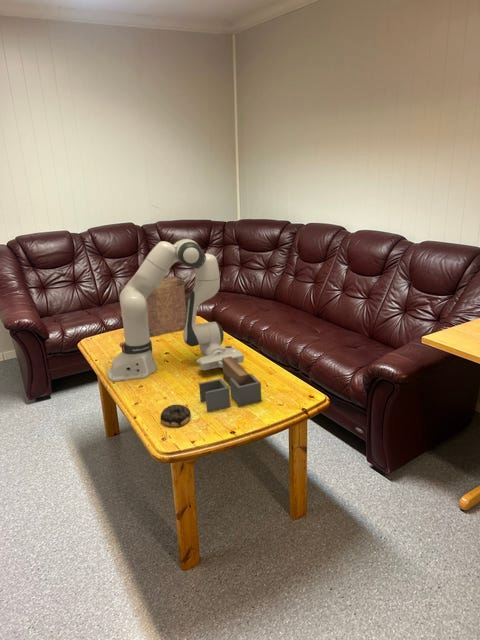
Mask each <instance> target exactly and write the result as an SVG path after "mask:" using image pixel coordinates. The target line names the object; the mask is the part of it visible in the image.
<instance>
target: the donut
mask: <svg viewBox="0 0 480 640" xmlns="http://www.w3.org/2000/svg"><path fill="white" fill-rule="evenodd" d="M191 415H192V414H191V410H190V409H189V407H187V406H184V405H182V404H171V405H169V406H167V407H165V408H164V409H163V410H162V412H161V414H160V422H161V424H163V425H165V426H167V427H175V428H176V427H181V426H185V424H187V423H188V422H189V421H190V419H191Z"/></svg>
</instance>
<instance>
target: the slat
mask: <svg viewBox="0 0 480 640" xmlns="http://www.w3.org/2000/svg"><path fill="white" fill-rule="evenodd" d="M222 361H223V368H222V373H223V381H224V382H225V383H226V385H227V386H228V387H230V378H233V379H234V380H235V381H236V382H237V383H238V384H239V385H240V386H242V385H247V384H249V374H250V373H249V372H248V371H247V370H246V369H244V367H243V366H241V364H240V363H237V362H236V361H235V360H234V359H233V358H232V357H226V358H222Z"/></svg>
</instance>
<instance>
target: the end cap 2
mask: <svg viewBox="0 0 480 640" xmlns="http://www.w3.org/2000/svg"><path fill="white" fill-rule="evenodd" d="M248 374H249V384H247V385H242V386H240V385H239V384H238V383H237V382H236V381H235V380H234V379H233V378H230V386H229V392H230V398H231V399H232V400H233V401H234V402H235V404H236V405H238V407H244V406H247V405H251V404H256V403H260V402H262V383H261V382H260V380H258V378H257V377H255V376H254V375H253V374H252V373H248Z"/></svg>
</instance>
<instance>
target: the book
mask: <svg viewBox="0 0 480 640" xmlns="http://www.w3.org/2000/svg"><path fill="white" fill-rule="evenodd" d="M185 291H186V289H185V279H184V278H183V277H180V276H178V275H176V276H170V277H169V276H168V277H164V278H163V279H162V281H161V282H160V284H159V285H158V287H157V288H155V289H154V290H153V291H152V293H151V294H150V295H149V296H148V297H147V299H146V302H147V312H148V326H149V335H150V338H154V337H159V336H162V335H168V334H171V333H175V332H180V331H184V326H185V320H186V311H187V303H186V292H185Z"/></svg>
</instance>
